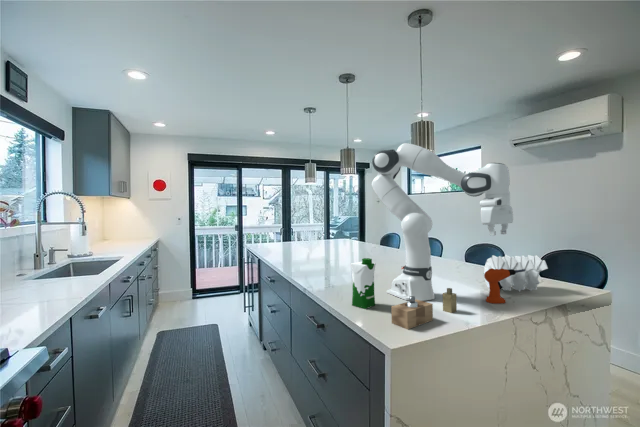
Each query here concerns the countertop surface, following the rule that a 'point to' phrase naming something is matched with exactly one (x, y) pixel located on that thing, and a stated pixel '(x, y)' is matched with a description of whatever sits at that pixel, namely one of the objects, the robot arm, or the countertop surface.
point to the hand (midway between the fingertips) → (498, 234)
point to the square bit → (449, 301)
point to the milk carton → (363, 283)
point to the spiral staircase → (521, 278)
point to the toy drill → (497, 283)
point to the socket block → (412, 314)
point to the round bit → (412, 302)
